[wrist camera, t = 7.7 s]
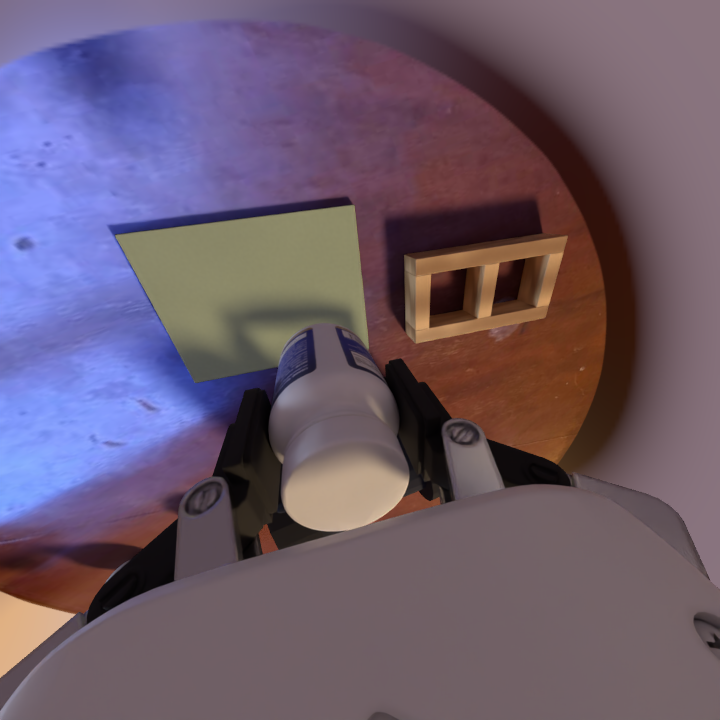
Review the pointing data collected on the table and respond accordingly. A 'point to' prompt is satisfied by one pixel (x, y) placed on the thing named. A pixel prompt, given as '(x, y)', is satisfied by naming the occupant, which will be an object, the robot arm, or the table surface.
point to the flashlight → (294, 533)
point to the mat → (250, 285)
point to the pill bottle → (335, 432)
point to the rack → (481, 285)
